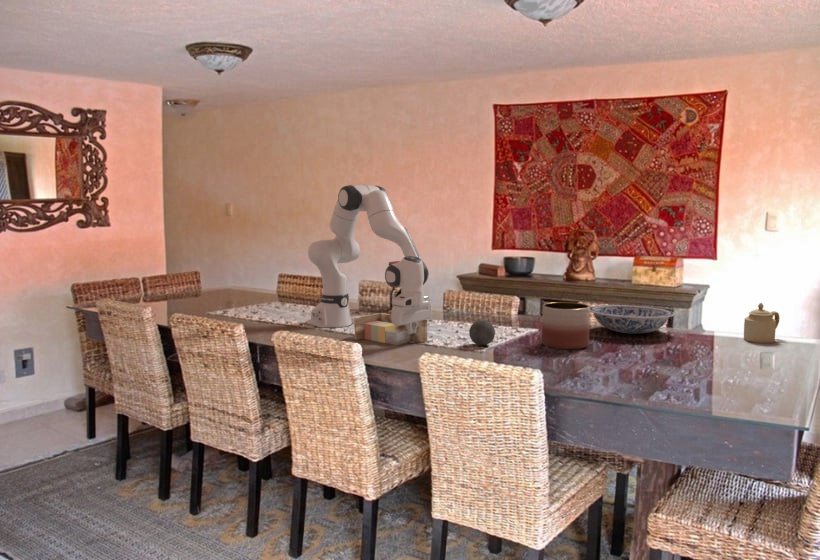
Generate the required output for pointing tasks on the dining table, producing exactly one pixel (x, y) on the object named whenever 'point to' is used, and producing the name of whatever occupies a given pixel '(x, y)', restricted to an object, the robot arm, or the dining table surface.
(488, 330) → the decorative ball
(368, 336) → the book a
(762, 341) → the sugar bowl
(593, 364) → the dining table surface
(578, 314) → the planter
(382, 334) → the book
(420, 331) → the shelf corner
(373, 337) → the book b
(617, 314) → the ceramic bowl
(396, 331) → the block
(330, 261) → the robot arm
